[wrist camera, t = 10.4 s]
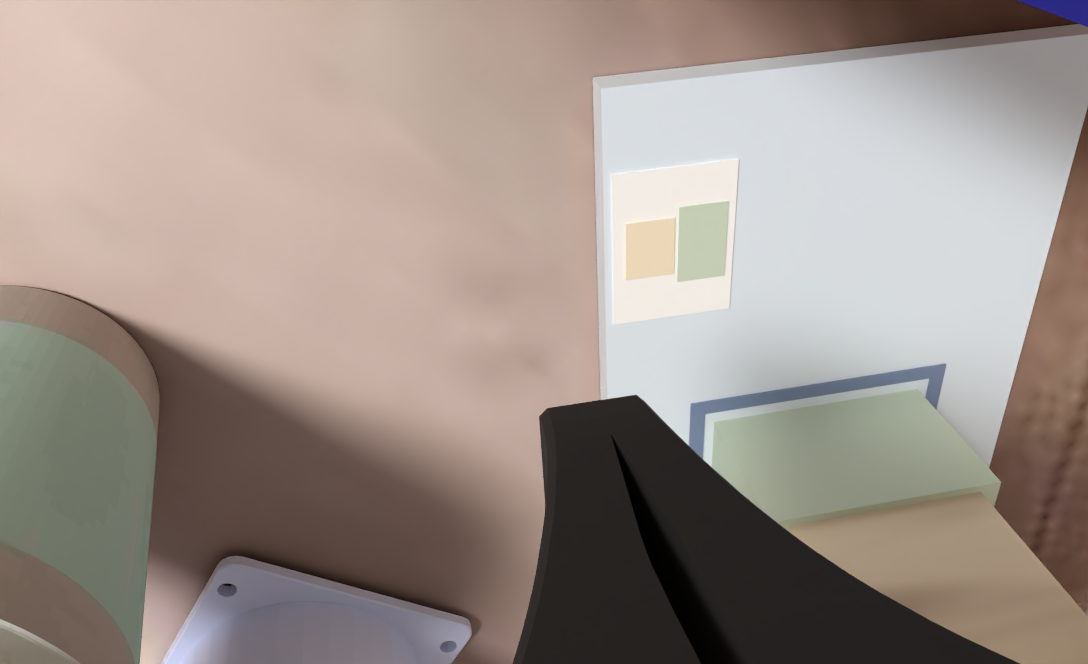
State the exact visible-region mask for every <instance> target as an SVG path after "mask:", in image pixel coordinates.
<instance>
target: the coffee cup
mask: <svg viewBox="0 0 1088 664" xmlns="http://www.w3.org/2000/svg"><path fill="white" fill-rule="evenodd" d="M159 408H160V393H159V386H158V382H157V378H156V375H155V372H154V370H153V367H152V365H151V363H150V361H149V359H148V358H147V356H146V354H145V353H144V351H143V350H142V348H141V347H140V346H139V345H138V343H137V342H136V341H135V340H134V339H133V338H132V336H131V335H130V334H128V333H127V332H126V331H125V330H124V329H123V328H122V327H121V326H120V325H118V324H117V323H116V322H115V321H113V320H112V319H111V318H109V317H108V316H106V315H105V314H103V313H101V312H100V311H98V310H96V309H94V308H93V307H91V306H89V305H87V304H85V303H83V302H80V301H78V300H75V299H73V298H70V297H67V296H65V295H62V294H58V293H55V292H51V291H47V290H42V289H37V288H30V287H22V286H0V664H139V663H140V651H141V638H142V626H143V613H144V601H145V589H146V576H147V564H148V551H149V539H150V526H151V514H152V502H153V489H154V477H155V464H156V450H157V436H158V422H159Z"/></svg>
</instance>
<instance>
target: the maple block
mask: <svg viewBox="0 0 1088 664" xmlns="http://www.w3.org/2000/svg"><path fill="white" fill-rule="evenodd" d="M788 531H789V532H790V533H791V534H793V535H794V536H795V537H797V538H798V539H799V540H801V541H802V542H803V543H805V544H806V545H808V546H809V547H810V548H812V549H813V550H815V551H816V552H817V553H819V554H820V555H822V556H824V557H825V558H827V559H828V560H830V561H831V562H833V563H834V564H836V565H837V566H839V567H840V568H842V569H843V570H845V571H846V572H848V573H849V574H851V575H852V576H854V577H855V578H857V579H859V580H860V581H862V582H864V583H865V584H867V585H869V586H870V587H872V588H874V589H875V590H877V591H879V592H880V593H882V594H884V595H886V596H888V597H889V598H891V599H893V600H895V601H897V602H898V603H900V604H902V605H904V606H906V607H907V608H909V609H911V610H913V611H915V612H916V613H918V614H920V615H922V616H924V617H925V618H927V619H929V620H931V621H933V622H935V623H937V624H939V625H941V626H943V627H945V628H947V629H948V630H950V631H952V632H954V633H956V634H958V635H960V636H962V637H964V638H966V639H969V640H971V641H973V642H975V643H977V644H979V645H981V646H984V647H986V648H988V649H990V650H992V651H994V652H996V653H999V654H1001V655H1003V656H1005V657H1007V658H1009V659H1011V660H1014V661H1016V662H1018V663H1020V664H1088V616H1087V615H1086V614H1085V613H1084V611H1083V610H1082V609H1081V608H1080V607H1079V606H1078V604H1077V603H1076V602H1075V601H1074V600H1073V599H1072V597H1071V596H1070V595H1069V594H1068V593H1067V592H1066V590H1065V589H1064V588H1063V587H1062V586H1061V585H1060V584H1059V582H1058V581H1057V580H1056V579H1055V578H1054V577H1053V575H1052V574H1051V573H1050V572H1049V571H1048V570H1047V568H1046V567H1045V566H1044V565H1043V564H1042V563H1041V561H1040V560H1039V559H1038V558H1037V557H1036V556H1035V554H1034V553H1033V552H1032V551H1031V550H1030V549H1029V547H1028V546H1027V545H1026V544H1025V543H1024V542H1023V540H1022V539H1021V538H1020V537H1019V536H1018V535H1017V533H1016V532H1015V531H1014V530H1013V529H1012V528H1011V526H1010V525H1009V524H1008V523H1007V522H1006V521H1005V519H1004V518H1003V517H1002V516H1001V515H1000V514H999V512H998V511H997V510H996V509H995V508H994V507H993V506H992V504H991V503H990V502H989V501H988V500H987V499H986V497H985V496H984V495H983V494H982V493H981V492H975V493H969V494H964V495H958V496H953V497H948V498H942V499H937V500H931V501H926V502H920V503H915V504H909V505H904V506H898V507H893V508H887V509H882V510H876V511H871V512H865V513H860V514H854V515H849V516H843V517H838V518H832V519H827V520H821V521H816V522H810V523H805V524H799V525H794V526H789V527H788Z"/></svg>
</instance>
